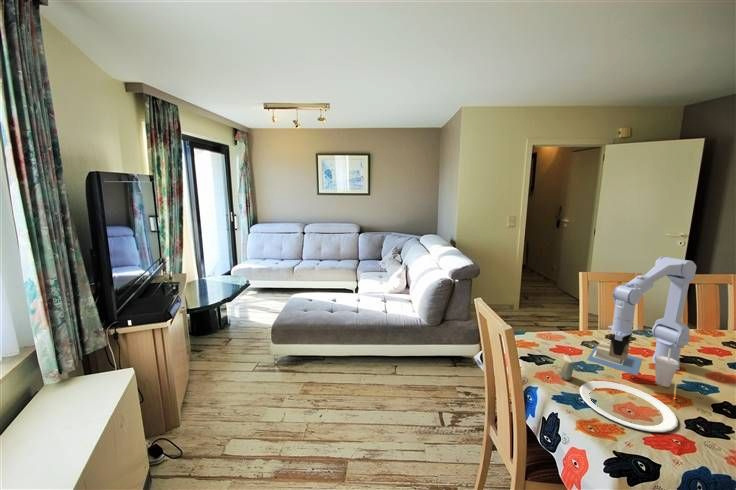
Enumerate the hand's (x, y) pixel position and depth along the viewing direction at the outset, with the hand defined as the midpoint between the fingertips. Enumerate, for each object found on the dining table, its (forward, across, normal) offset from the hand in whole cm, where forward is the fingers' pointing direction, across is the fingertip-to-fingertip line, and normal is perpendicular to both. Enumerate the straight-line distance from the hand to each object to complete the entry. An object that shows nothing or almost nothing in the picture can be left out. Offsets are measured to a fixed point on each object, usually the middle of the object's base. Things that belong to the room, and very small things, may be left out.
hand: (618, 352), depth 119 cm
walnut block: (+2, 0, 0) cm, 2 cm away
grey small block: (+9, +16, -13) cm, 23 cm away
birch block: (+9, -13, -4) cm, 16 cm away
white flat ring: (+10, +20, +5) cm, 23 cm away
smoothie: (+9, -3, +13) cm, 16 cm away
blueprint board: (+9, -12, -2) cm, 15 cm away
